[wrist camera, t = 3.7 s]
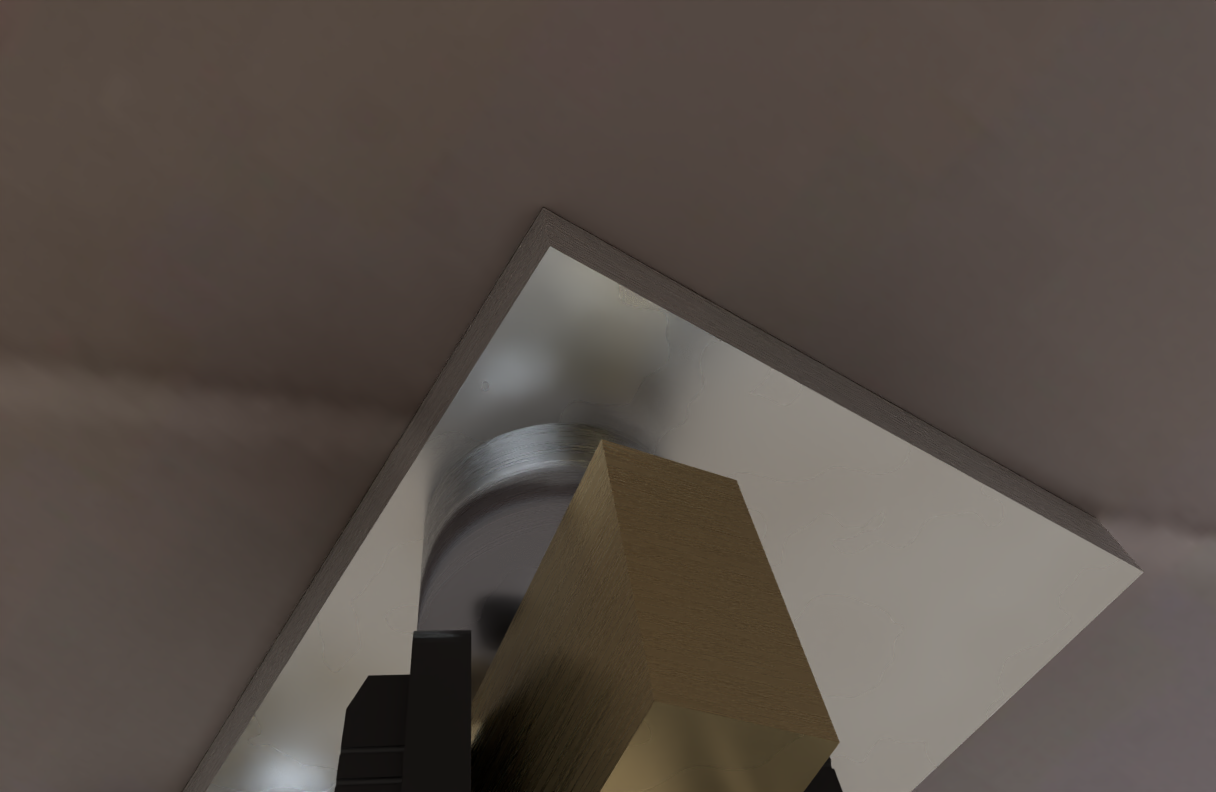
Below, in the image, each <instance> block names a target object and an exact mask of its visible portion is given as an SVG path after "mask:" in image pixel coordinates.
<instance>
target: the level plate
mask: <svg viewBox="0 0 1216 792" xmlns="http://www.w3.org/2000/svg"><path fill="white" fill-rule="evenodd" d="M552 423H573V424H581V425H589V426H594V427H598V428H602V429H606V430H609V431H612V432H614V433H617V434H620V435H622V436H624V437H626V438H628V439H630V440H632V441H634V442H636V443H637V444H639V445H640V446H642V447H643V448H644V449H646V450H647V451H649V452H650V453H651V454H652V455H655V456H659V457H662V458H665V459H669V460H672V461H675V462H678V463H682V464H685V465H688V466H692V467H695V468H698V469H701V470H705V471H708V472H711V473H715V474H718V475H721V476H725V477H728V478H731V479H734V480H737V483H738V485H739V488H740V490H741V493H742V495H743V498H744V500H745V503H746V506H747V508H748V511H749V513H750V516H751V518H752V521H753V523H754V526H755V528H756V531H757V533H758V536H759V539H760V541H761V544H762V546H763V549H764V551H765V554H766V556H767V559H768V561H769V564H770V566H771V569H772V572H773V574H774V577H775V579H776V582H777V584H778V587H779V589H780V592H781V594H782V597H783V599H784V602H785V605H786V607H787V610H788V612H789V615H790V617H791V620H792V622H793V625H794V627H795V630H796V632H797V635H798V638H799V640H800V643H801V645H802V648H803V650H804V653H805V655H806V658H807V660H808V663H809V665H810V668H811V671H812V673H813V676H814V678H815V681H816V683H817V686H818V688H819V691H820V693H821V696H822V698H823V701H824V704H825V706H826V709H827V711H828V714H829V716H830V719H831V721H832V724H833V726H834V729H835V731H836V734H837V736H838V739H839V742H840V743H839V744H838V746H837V747H836V749H835V750H834V751H833V753H832V754H831V755H830V759H831V767H832V769H833V768H834V769H835V772H836V775H837V777H838V780H839V783H840V785H841V788H842V791H843V792H911V791H912V790H913V789H914V788H915V787H916V786H917V785H919V784H920V783H921V782H922V781H923V780H924V779H925V778H926V777H927V776H928V775H929V774H930V773H931V772H932V771H933V770H934V769H936V768H937V767H938V766H939V765H940V764H941V763H942V762H943V761H944V760H945V759H946V758H947V757H948V756H949V755H950V754H951V753H952V752H954V751H955V750H956V749H957V748H958V747H959V746H960V745H961V744H962V743H963V742H964V741H965V740H966V739H967V738H968V737H969V736H970V735H972V734H973V733H974V732H975V731H976V730H977V729H978V728H979V727H980V726H981V725H982V724H983V723H984V722H985V721H986V720H987V719H989V718H990V717H991V716H992V715H993V714H994V713H995V712H996V711H997V710H998V709H999V708H1000V707H1001V706H1002V705H1003V704H1004V703H1005V702H1007V701H1008V700H1009V699H1010V698H1011V697H1012V696H1013V695H1014V694H1015V693H1016V692H1017V691H1018V690H1019V689H1020V688H1021V687H1022V686H1023V685H1025V684H1026V683H1027V682H1028V681H1029V680H1030V679H1031V678H1032V677H1033V676H1034V675H1035V674H1036V673H1037V672H1038V671H1039V670H1040V669H1042V668H1043V667H1044V666H1045V665H1046V664H1047V663H1048V662H1049V661H1050V660H1051V659H1052V658H1053V657H1054V656H1055V655H1056V654H1057V653H1058V652H1060V651H1061V650H1062V649H1063V648H1064V647H1065V646H1066V645H1067V644H1068V643H1069V642H1070V641H1071V640H1072V639H1073V638H1074V637H1075V636H1076V635H1078V634H1079V633H1080V632H1081V631H1082V630H1083V629H1084V628H1085V627H1086V626H1087V625H1088V624H1089V623H1090V622H1091V621H1092V620H1093V619H1094V618H1096V617H1097V616H1098V615H1099V614H1100V613H1101V612H1102V611H1103V610H1104V609H1105V608H1106V607H1107V606H1108V605H1109V604H1110V603H1111V602H1113V601H1114V600H1115V599H1116V598H1117V597H1118V596H1119V595H1120V594H1121V593H1122V592H1123V591H1124V590H1125V589H1126V588H1127V587H1128V586H1129V585H1131V584H1132V583H1133V582H1134V581H1135V580H1136V579H1137V578H1138V577H1139V576H1140V575H1141V574H1142V573H1143V570H1142V569H1141V568H1140V567H1139V566H1138V565H1137V564H1136V563H1135V561H1134V560H1133V559H1132V558H1131V557H1130V556H1129V555H1128V554H1127V552H1126V551H1125V550H1124V549H1123V548H1122V547H1121V546H1120V544H1119V543H1118V542H1117V541H1116V540H1115V539H1114V538H1113V537H1112V535H1111V534H1110V533H1109V532H1108V531H1107V530H1106V529H1105V528H1104V526H1103V525H1102V524H1101V523H1100V522H1099V521H1098V520H1097V519H1096V518H1094V517H1092V516H1090V515H1089V514H1087V513H1085V512H1083V511H1081V510H1080V509H1078V508H1076V507H1074V506H1073V505H1071V504H1069V503H1067V502H1065V501H1064V500H1062V499H1060V498H1058V497H1057V496H1055V495H1053V494H1051V493H1050V492H1048V491H1046V490H1044V489H1042V488H1041V487H1039V486H1037V485H1035V484H1034V483H1032V482H1030V481H1028V480H1026V479H1025V478H1023V477H1021V476H1019V475H1018V474H1016V473H1014V472H1012V471H1010V470H1009V469H1007V468H1005V467H1003V466H1002V465H1000V464H998V463H996V462H994V461H993V460H991V459H989V458H987V457H986V456H984V455H982V454H980V453H978V452H977V451H975V450H973V449H971V448H970V447H968V446H966V445H964V444H963V443H961V442H959V441H957V440H955V439H954V438H952V437H950V436H948V435H947V434H945V433H943V432H941V431H939V430H938V429H936V428H934V427H932V426H931V425H929V424H927V423H925V422H923V421H922V420H920V419H918V418H916V417H915V416H913V415H911V414H909V413H907V412H906V411H904V410H902V409H900V408H899V407H897V406H895V405H893V404H892V403H890V402H888V401H886V400H884V399H883V398H881V397H879V396H877V395H876V394H874V393H872V392H870V391H868V390H867V389H865V388H863V387H861V386H860V385H858V384H856V383H854V382H852V381H851V380H849V379H847V378H845V377H844V376H842V375H840V374H838V373H836V372H835V371H833V370H831V369H829V368H828V367H826V366H824V365H822V364H820V363H819V362H817V361H815V360H813V359H812V358H810V357H808V356H806V355H805V354H803V353H801V352H799V351H797V350H796V349H794V348H792V347H790V346H789V345H787V344H785V343H783V342H781V341H780V340H778V339H776V338H774V337H773V336H771V335H769V334H767V333H765V332H764V331H762V330H760V329H758V328H757V327H755V326H753V325H751V324H749V323H748V322H746V321H744V320H742V319H741V318H739V317H737V316H735V315H733V314H732V313H730V312H728V311H726V310H725V309H723V308H721V307H719V306H718V305H716V304H714V303H712V302H710V301H709V300H707V299H705V298H703V297H702V296H700V295H698V294H696V293H694V292H693V291H691V290H689V289H687V288H686V287H684V286H682V285H680V284H678V283H677V282H675V281H673V280H671V279H670V278H668V277H666V276H664V275H662V274H661V273H659V272H657V271H655V270H654V269H652V268H650V267H648V266H647V265H645V264H643V263H641V262H639V261H638V260H636V259H634V258H632V257H631V256H629V255H627V254H625V253H623V252H622V251H620V250H618V249H616V248H615V247H613V246H611V245H609V244H607V243H606V242H604V241H602V240H600V239H599V238H597V237H595V236H593V235H591V234H590V233H588V232H586V231H584V230H583V229H581V228H579V227H577V226H575V225H574V224H572V223H570V222H568V221H567V220H565V219H563V218H561V217H560V216H558V215H556V214H554V213H552V212H551V211H549V210H547V209H545V208H544V207H543V208H542V210H541V212H540V213H539V215H538V217H537V218H536V220H535V221H534V223H533V225H532V226H531V228H530V230H529V231H528V233H527V234H526V236H525V238H524V239H523V241H522V242H521V244H520V246H519V247H518V249H517V251H516V252H515V254H514V255H513V257H512V259H511V260H510V262H509V264H508V265H507V267H506V268H505V270H504V272H503V273H502V275H501V277H500V278H499V280H498V281H497V283H496V285H495V286H494V288H493V289H492V291H491V293H490V294H489V296H488V298H487V299H486V301H485V302H484V304H483V306H482V307H481V309H480V311H479V312H478V314H477V315H476V317H475V319H474V320H473V322H472V324H471V325H470V327H469V328H468V330H467V332H466V333H465V335H464V336H463V338H462V340H461V341H460V343H459V345H458V346H457V348H456V349H455V351H454V353H453V354H452V356H451V358H450V359H449V361H448V362H447V364H446V366H445V367H444V369H443V371H442V372H441V374H440V375H439V377H438V379H437V380H436V382H435V384H434V385H433V387H432V388H431V390H430V392H429V393H428V395H427V396H426V398H425V400H424V401H423V403H422V405H421V406H420V408H419V409H418V411H417V413H416V414H415V416H414V418H413V419H412V421H411V422H410V424H409V426H408V427H407V429H406V431H405V432H404V434H403V435H402V437H401V439H400V440H399V442H398V443H397V445H396V447H395V448H394V450H393V452H392V453H391V455H390V456H389V458H388V460H387V461H386V463H385V465H384V466H383V468H382V469H381V471H380V473H379V474H378V476H377V478H376V479H375V481H374V482H373V484H372V486H371V487H370V489H369V490H368V492H367V494H366V495H365V497H364V499H363V500H362V502H361V503H360V505H359V507H358V508H357V510H356V512H355V513H354V515H353V516H352V518H351V520H350V521H349V523H348V525H347V526H346V528H345V529H344V531H343V533H342V534H341V536H340V537H339V539H338V541H337V542H336V544H335V546H334V547H333V549H332V550H331V552H330V554H329V555H328V557H327V559H326V560H325V562H324V563H323V565H322V567H321V568H320V570H319V572H318V573H317V575H316V576H315V578H314V580H313V581H312V583H311V585H310V586H309V588H308V589H307V591H306V593H305V594H304V596H303V597H302V599H301V601H300V602H299V604H298V606H297V607H296V609H295V610H294V612H293V614H292V615H291V617H290V619H289V620H288V622H287V623H286V625H285V627H284V628H283V630H282V632H281V633H280V635H279V636H278V638H277V640H276V641H275V643H274V644H273V646H272V648H271V649H270V651H269V653H268V654H267V656H266V657H265V659H264V661H263V662H262V664H261V666H260V667H259V669H258V670H257V672H256V674H255V675H254V677H253V679H252V680H251V682H250V683H249V685H248V687H247V688H246V690H245V691H244V693H243V695H242V696H241V698H240V700H239V701H238V703H237V704H236V706H235V708H234V709H233V711H232V713H231V714H230V716H229V717H228V719H227V721H226V722H225V724H224V726H223V727H222V729H221V730H220V732H219V734H218V735H217V737H216V738H215V740H214V742H213V743H212V745H211V747H210V748H209V750H208V751H207V753H206V755H205V756H204V758H203V760H202V761H201V763H200V764H199V766H198V768H197V769H196V771H195V773H194V774H193V776H192V777H191V779H190V781H189V782H188V784H187V786H186V787H185V789H184V790H183V792H334V791H335V787H336V777H337V770H338V762H339V755H340V753H341V741H342V734H343V727H344V720H345V713H346V708H347V707H348V705H349V704H350V702H351V701H352V699H353V698H354V696H355V695H356V693H357V692H358V690H359V689H360V687H361V686H362V684H363V683H364V681H365V680H366V678H367V677H368V675H406V674H410V667H411V653H412V640H413V632H414V631H417V622H418V607H419V593H420V579H421V565H422V551H423V537H424V525H425V519H426V513H427V510H428V507H429V504H430V501H431V498H432V496H433V495H434V493H435V491H436V489H437V487H438V485H439V484H440V482H441V481H442V480H443V478H444V477H445V475H446V474H447V473H448V472H449V471H450V470H451V469H452V468H453V466H454V465H455V464H456V463H457V462H458V461H460V460H461V459H462V458H463V457H464V456H466V455H467V454H468V453H469V452H471V451H472V450H474V449H475V448H477V447H479V446H480V445H482V444H483V443H485V442H487V441H489V440H491V439H493V438H495V437H498V436H500V435H502V434H505V433H508V432H511V431H514V430H517V429H521V428H525V427H530V426H534V425H542V424H552Z"/></svg>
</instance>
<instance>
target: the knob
mask: <svg viewBox="0 0 1216 792" xmlns="http://www.w3.org/2000/svg"><path fill="white" fill-rule="evenodd" d="M441 630H471V792H804V791H805V789H806V788H807V786H808V785H809V784H810V782H811V781H812V780H813V778H814V777H815V776H816V774H817V773H818V772H819V770H820V769H821V767H822V766H823V765H824V763H825V762H826V761H827V759H828V758H829V757H830V755H831V754H832V753H833V751H834V750H835V749H836V747H837V746H838V744H839V743H840V742H839V739H838V736H837V734H836V731H835V729H834V726H833V724H832V721H831V719H830V716H829V714H828V711H827V709H826V706H825V704H824V701H823V698H822V696H821V693H820V691H819V688H818V686H817V683H816V681H815V678H814V676H813V673H812V671H811V668H810V665H809V663H808V660H807V658H806V655H805V653H804V650H803V648H802V645H801V643H800V640H799V638H798V635H797V632H796V630H795V627H794V625H793V622H792V620H791V617H790V615H789V612H788V610H787V607H786V605H785V602H784V599H783V597H782V594H781V592H780V589H779V587H778V584H777V582H776V579H775V577H774V574H773V572H772V569H771V566H770V564H769V561H768V559H767V556H766V554H765V551H764V549H763V546H762V544H761V541H760V539H759V536H758V533H757V531H756V528H755V526H754V523H753V521H752V518H751V516H750V513H749V511H748V508H747V506H746V503H745V500H744V498H743V495H742V493H741V490H740V488H739V485H738V483H737V480H734V479H731V478H728V477H725V476H721V475H718V474H715V473H711V472H708V471H705V470H701V469H698V468H695V467H692V466H688V465H685V464H682V463H678V462H675V461H672V460H669V459H665V458H662V457H659V456H655V455H652V454H651V453H650V452H649V451H647V450H646V449H644V448H643V447H642V446H640V445H639V444H637V443H636V442H634V441H632V440H630V439H628V438H626V437H624V436H622V435H620V434H617V433H614V432H612V431H609V430H606V429H602V428H598V427H594V426H589V425H581V424H573V423H552V424H542V425H534V426H530V427H525V428H521V429H517V430H514V431H511V432H508V433H505V434H502V435H500V436H498V437H495V438H493V439H491V440H489V441H487V442H485V443H483V444H482V445H480V446H479V447H477V448H475V449H474V450H472V451H471V452H469V453H468V454H467V455H466V456H464V457H463V458H462V459H461V460H460V461H458V462H457V463H456V464H455V465H454V466H453V468H452V469H451V470H450V471H449V472H448V473H447V474H446V475H445V477H444V478H443V480H442V481H441V482H440V484H439V485H438V487H437V489H436V491H435V493H434V495H433V496H432V498H431V501H430V504H429V507H428V510H427V513H426V519H425V525H424V537H423V551H422V565H421V579H420V593H419V607H418V622H417V631H441Z"/></svg>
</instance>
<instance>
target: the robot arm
mask: <svg viewBox="0 0 1216 792" xmlns="http://www.w3.org/2000/svg"><path fill="white" fill-rule="evenodd" d="M334 792H471V630H441V631H414V632H413V640H412V653H411V667H410V674H406V675H368V677H367V678H366V680H365V681H364V683H363V684H362V686H361V687H360V689H359V690H358V692H357V693H356V695H355V696H354V698H353V699H352V701H351V702H350V704H349V705H348V707H347V708H346V713H345V720H344V727H343V734H342V741H341V753H340V755H339V762H338V770H337V777H336V787H335V791H334ZM804 792H843V791H842V788H841V785H840V783H839V780H838V777H837V775H836V772H835V769H834V768H833V769H832V767H831V759H830V757H829V758H828V759H827V761H826V762H825V763H824V765H823V766H822V767H821V769H820V770H819V772H818V773H817V774H816V776H815V777H814V778H813V780H812V781H811V782H810V784H809V785H808V786H807V788H806V789H805V791H804Z"/></svg>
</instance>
